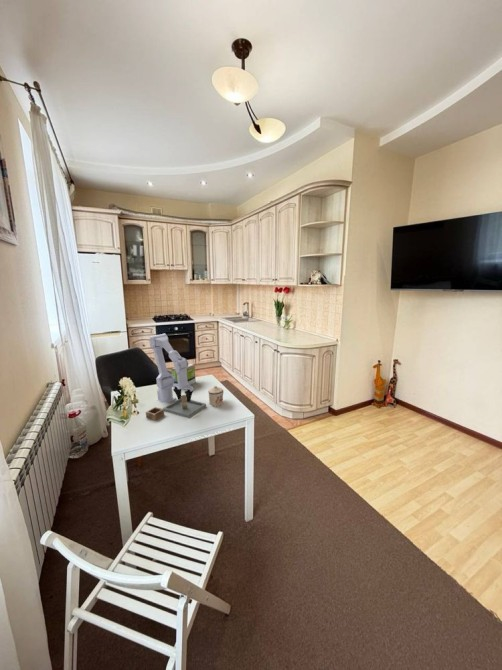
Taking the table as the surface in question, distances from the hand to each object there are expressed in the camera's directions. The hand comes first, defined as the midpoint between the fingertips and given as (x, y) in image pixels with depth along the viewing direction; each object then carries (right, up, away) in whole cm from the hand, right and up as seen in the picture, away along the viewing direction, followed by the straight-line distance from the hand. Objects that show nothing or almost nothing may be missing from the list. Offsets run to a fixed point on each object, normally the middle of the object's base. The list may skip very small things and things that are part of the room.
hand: (184, 399), depth 163 cm
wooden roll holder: (-15, -8, -7) cm, 18 cm away
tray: (0, -6, +1) cm, 6 cm away
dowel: (0, -5, +1) cm, 5 cm away
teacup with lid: (+19, -4, +9) cm, 22 cm away
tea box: (-9, +2, +39) cm, 40 cm away
